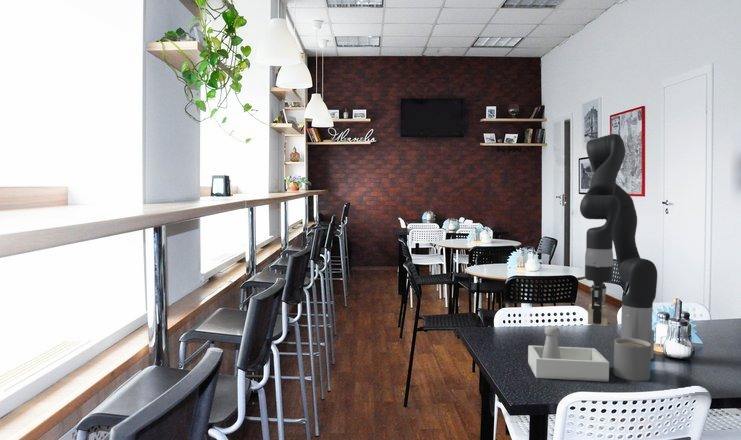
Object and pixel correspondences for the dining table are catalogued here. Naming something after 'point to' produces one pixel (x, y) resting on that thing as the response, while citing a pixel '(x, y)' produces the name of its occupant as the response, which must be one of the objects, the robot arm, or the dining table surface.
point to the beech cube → (603, 316)
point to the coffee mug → (632, 359)
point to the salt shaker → (551, 343)
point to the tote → (569, 364)
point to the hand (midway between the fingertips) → (597, 321)
